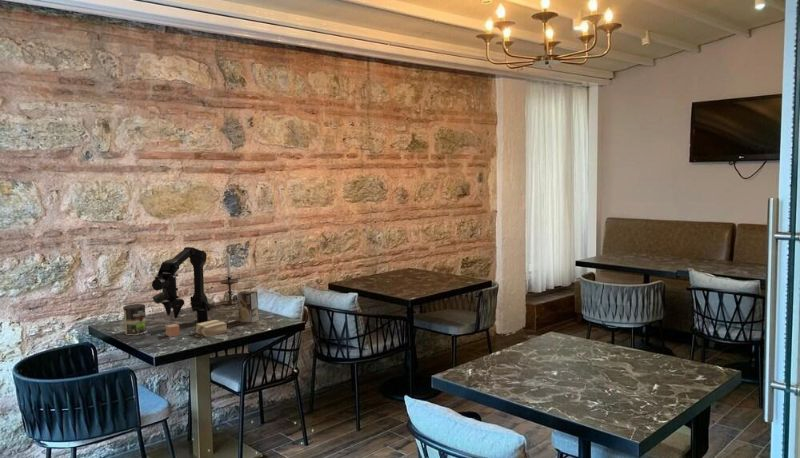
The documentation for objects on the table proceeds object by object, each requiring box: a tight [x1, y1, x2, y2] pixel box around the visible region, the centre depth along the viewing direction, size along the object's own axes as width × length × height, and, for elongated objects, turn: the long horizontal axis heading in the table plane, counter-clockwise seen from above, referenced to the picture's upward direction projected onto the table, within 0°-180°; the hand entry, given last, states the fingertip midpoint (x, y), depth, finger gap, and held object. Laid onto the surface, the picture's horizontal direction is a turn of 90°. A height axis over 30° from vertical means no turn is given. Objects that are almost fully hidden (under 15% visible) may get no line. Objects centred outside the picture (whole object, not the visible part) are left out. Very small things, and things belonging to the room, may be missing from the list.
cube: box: [165, 323, 181, 338], centre depth 293 cm, size 5×5×5 cm
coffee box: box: [237, 290, 260, 323], centre depth 318 cm, size 9×6×16 cm
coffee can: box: [123, 303, 148, 336], centre depth 297 cm, size 10×10×14 cm
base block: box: [195, 319, 228, 337], centre depth 297 cm, size 11×11×5 cm
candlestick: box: [219, 248, 239, 306], centre depth 358 cm, size 11×11×35 cm
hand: (172, 316), depth 292 cm, fingers open, 9 cm apart
